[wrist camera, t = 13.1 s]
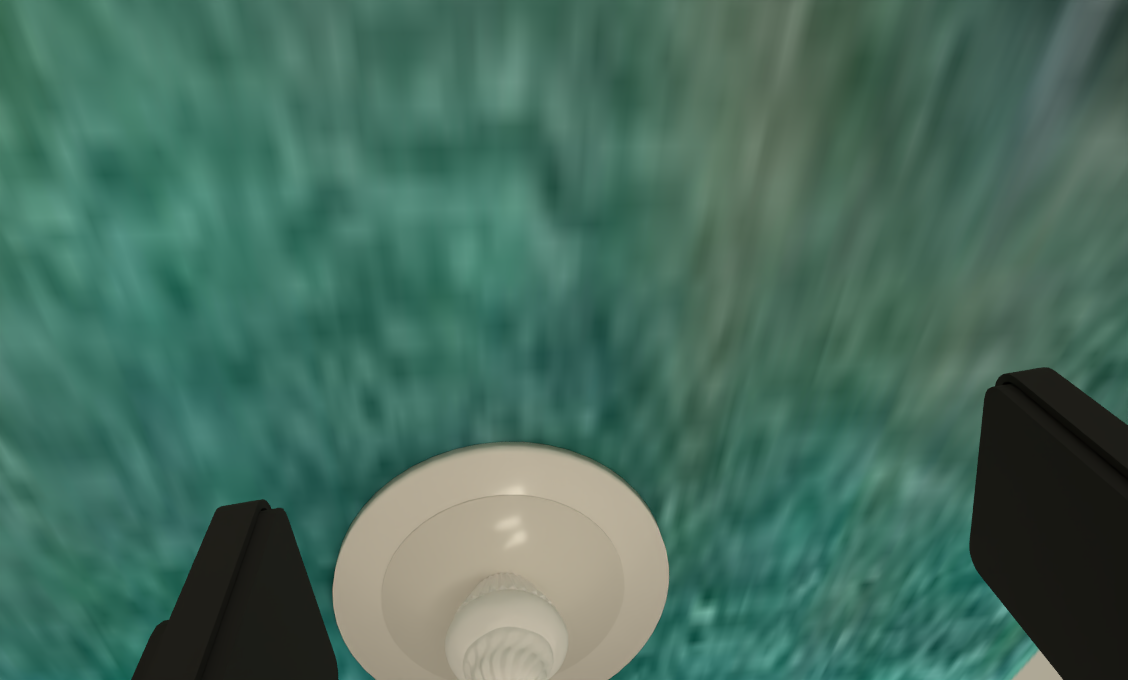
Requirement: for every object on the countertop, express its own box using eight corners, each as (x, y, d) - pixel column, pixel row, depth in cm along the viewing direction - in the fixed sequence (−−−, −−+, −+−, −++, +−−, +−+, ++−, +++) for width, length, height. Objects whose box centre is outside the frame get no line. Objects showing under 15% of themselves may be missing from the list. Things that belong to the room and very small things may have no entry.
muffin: (528, 651, 48) (540, 760, 41) (426, 621, 46) (422, 729, 40) (580, 569, 46) (601, 671, 39) (475, 534, 44) (479, 634, 38)
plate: (652, 415, 43) (658, 427, 42) (674, 672, 51) (679, 688, 50) (297, 473, 43) (293, 487, 41) (374, 726, 50) (373, 743, 49)
